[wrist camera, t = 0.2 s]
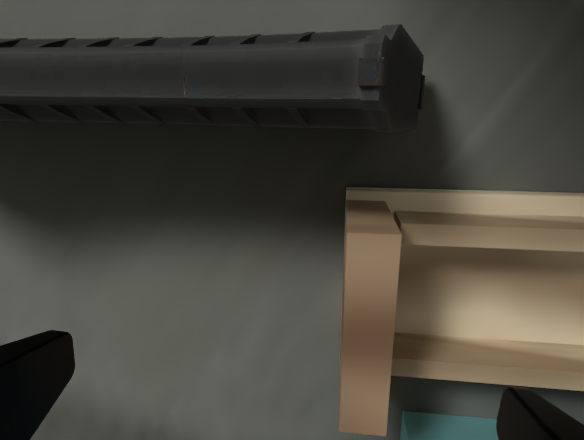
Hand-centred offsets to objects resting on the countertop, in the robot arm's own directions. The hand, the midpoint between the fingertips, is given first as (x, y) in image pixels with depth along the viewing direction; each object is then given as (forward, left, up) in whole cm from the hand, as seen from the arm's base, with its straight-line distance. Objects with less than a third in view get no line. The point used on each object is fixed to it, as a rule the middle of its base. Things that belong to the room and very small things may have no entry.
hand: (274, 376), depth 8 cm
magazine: (+6, +10, -15) cm, 19 cm away
